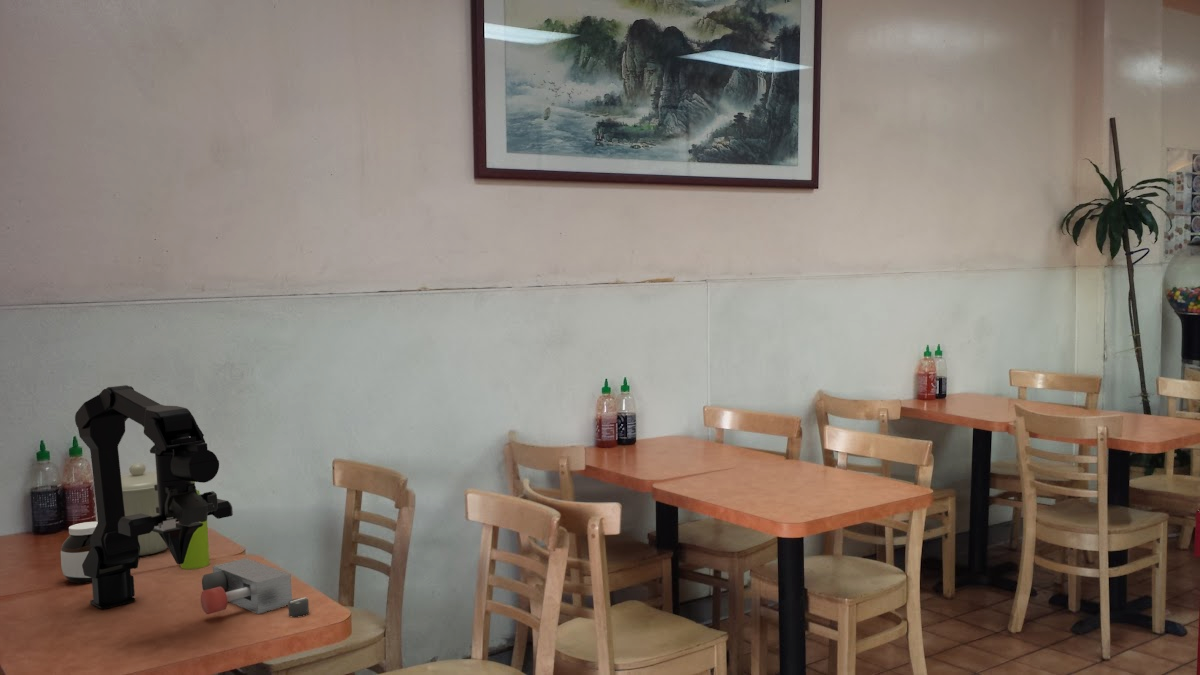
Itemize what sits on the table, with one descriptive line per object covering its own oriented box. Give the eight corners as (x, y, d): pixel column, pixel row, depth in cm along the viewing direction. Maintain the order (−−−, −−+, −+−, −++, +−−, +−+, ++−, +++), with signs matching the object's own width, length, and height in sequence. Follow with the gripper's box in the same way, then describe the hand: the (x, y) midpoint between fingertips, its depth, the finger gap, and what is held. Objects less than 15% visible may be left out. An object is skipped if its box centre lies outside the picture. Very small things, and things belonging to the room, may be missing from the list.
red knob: (212, 616, 182) (210, 592, 182) (201, 611, 185) (200, 588, 185) (272, 600, 191) (271, 577, 190) (261, 595, 194) (260, 573, 193)
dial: (295, 618, 184) (294, 603, 183) (285, 614, 186) (284, 600, 186) (312, 613, 186) (311, 599, 186) (302, 609, 189) (302, 595, 188)
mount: (258, 614, 187) (256, 582, 186) (214, 595, 199) (212, 566, 199) (292, 604, 192) (290, 573, 191) (247, 587, 204) (245, 558, 204)
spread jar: (77, 587, 208) (73, 532, 207) (47, 580, 214) (43, 527, 213) (130, 572, 218) (127, 519, 217) (100, 566, 224) (97, 514, 223)
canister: (199, 546, 239) (194, 459, 237) (129, 565, 223) (123, 472, 222) (154, 538, 248) (149, 454, 247) (83, 556, 233) (78, 466, 232)
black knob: (212, 599, 192) (211, 576, 192) (202, 594, 195) (201, 572, 195) (270, 584, 201) (269, 562, 201) (259, 580, 204) (258, 559, 204)
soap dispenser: (171, 569, 219) (166, 479, 218) (195, 560, 226) (190, 473, 225) (192, 571, 217) (186, 480, 216) (215, 562, 223) (210, 474, 222)
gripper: (140, 492, 168) (147, 583, 168) (244, 473, 181) (250, 558, 182) (113, 486, 175) (120, 573, 176) (215, 468, 189) (220, 550, 190)
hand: (180, 563), depth 181 cm, fingers closed
